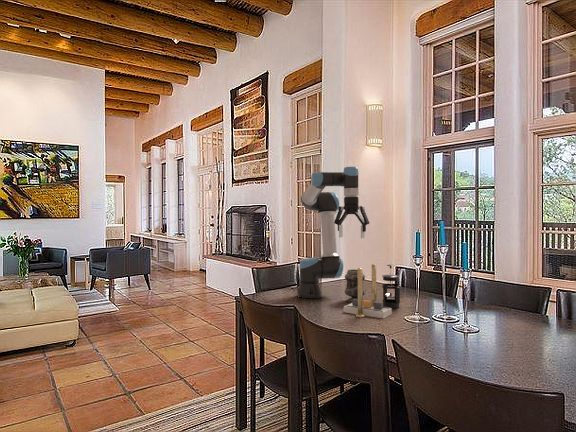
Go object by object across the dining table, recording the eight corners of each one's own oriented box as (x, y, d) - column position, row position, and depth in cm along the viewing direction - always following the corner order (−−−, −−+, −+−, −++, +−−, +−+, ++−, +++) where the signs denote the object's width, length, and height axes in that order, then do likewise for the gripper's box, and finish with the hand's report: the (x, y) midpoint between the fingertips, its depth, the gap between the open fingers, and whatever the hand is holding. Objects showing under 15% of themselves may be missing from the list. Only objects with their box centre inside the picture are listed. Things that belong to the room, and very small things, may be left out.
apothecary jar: (364, 298, 247) (364, 268, 247) (366, 303, 235) (366, 271, 235) (344, 298, 248) (343, 268, 248) (344, 303, 236) (344, 271, 236)
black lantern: (377, 305, 230) (377, 264, 229) (391, 303, 234) (391, 262, 233) (391, 310, 219) (391, 266, 219) (405, 308, 223) (405, 265, 223)
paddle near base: (352, 305, 218) (352, 299, 218) (354, 304, 220) (354, 298, 220) (359, 306, 216) (359, 300, 215) (361, 305, 217) (361, 299, 217)
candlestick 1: (354, 316, 207) (353, 268, 207) (358, 314, 211) (358, 267, 210) (362, 318, 205) (361, 269, 204) (366, 316, 208) (365, 268, 208)
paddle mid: (362, 306, 214) (362, 300, 214) (364, 305, 216) (364, 300, 216) (369, 307, 212) (369, 301, 212) (372, 306, 214) (372, 300, 214)
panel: (343, 312, 217) (343, 305, 217) (352, 308, 225) (352, 301, 225) (383, 318, 204) (383, 311, 204) (391, 314, 212) (391, 307, 212)
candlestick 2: (368, 310, 220) (368, 264, 220) (372, 308, 224) (371, 263, 223) (376, 311, 218) (375, 265, 217) (379, 309, 221) (379, 264, 221)
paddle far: (373, 308, 211) (373, 302, 211) (375, 307, 213) (375, 301, 213) (381, 309, 208) (381, 303, 208) (383, 308, 210) (382, 302, 210)
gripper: (327, 196, 223) (327, 237, 223) (369, 195, 208) (369, 239, 209) (334, 197, 229) (334, 236, 229) (375, 196, 214) (376, 238, 215)
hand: (351, 237), depth 219 cm, fingers open, 12 cm apart
